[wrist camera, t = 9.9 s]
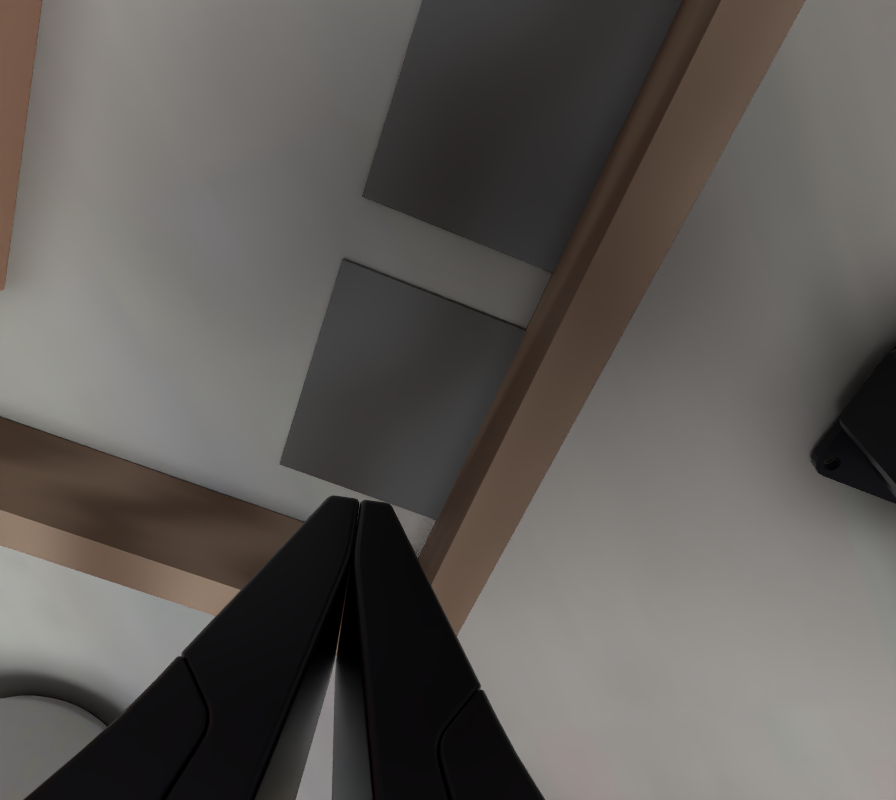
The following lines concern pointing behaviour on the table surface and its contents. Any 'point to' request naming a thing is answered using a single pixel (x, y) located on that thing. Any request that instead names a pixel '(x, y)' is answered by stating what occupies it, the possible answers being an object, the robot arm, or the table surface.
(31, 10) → the terracotta block
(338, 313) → the shallow wooden tray box
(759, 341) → the table surface
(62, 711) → the teacup
